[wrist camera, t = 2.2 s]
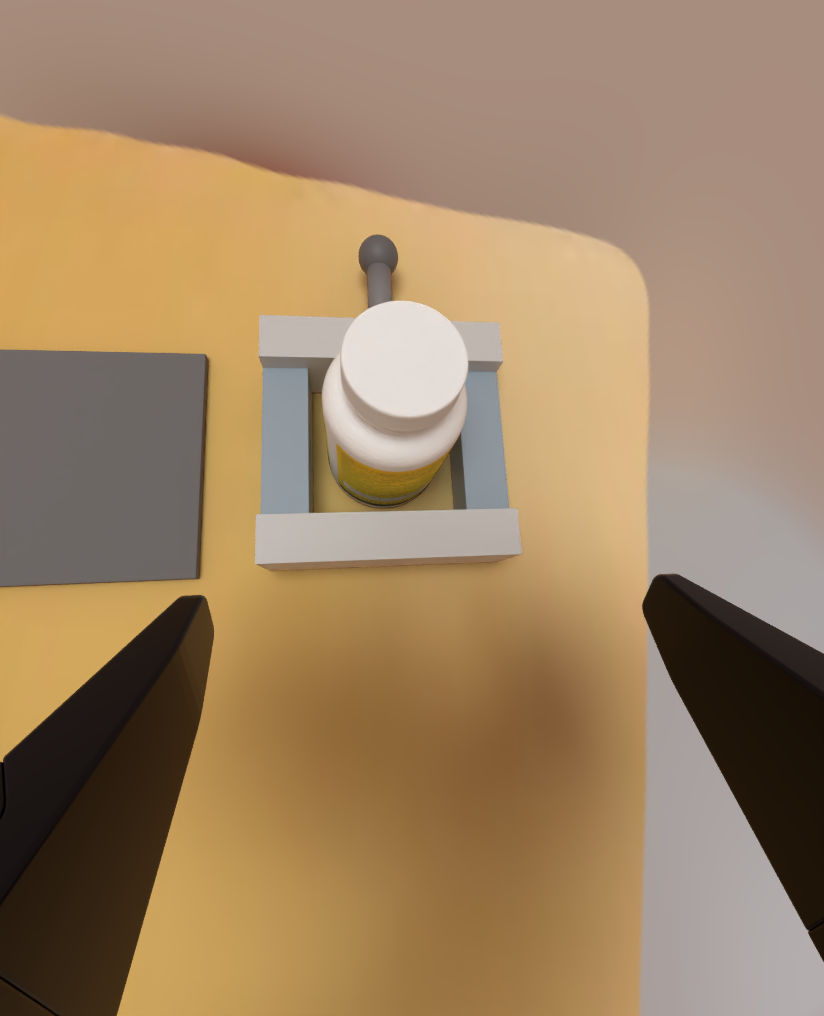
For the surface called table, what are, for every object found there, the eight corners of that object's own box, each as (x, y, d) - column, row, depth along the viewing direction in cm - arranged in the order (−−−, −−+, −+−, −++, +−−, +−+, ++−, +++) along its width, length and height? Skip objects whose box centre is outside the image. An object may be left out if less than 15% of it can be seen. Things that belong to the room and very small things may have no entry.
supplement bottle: (452, 484, 24) (520, 404, 14) (354, 526, 23) (358, 470, 13) (408, 393, 25) (445, 259, 15) (311, 429, 23) (285, 309, 14)
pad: (199, 578, 21) (195, 578, 21) (-73, 589, 20) (-84, 589, 19) (208, 359, 24) (205, 354, 23) (-36, 354, 22) (-45, 348, 22)
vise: (496, 561, 23) (521, 554, 20) (269, 570, 22) (255, 563, 18) (472, 272, 27) (489, 223, 23) (273, 263, 25) (261, 209, 22)
